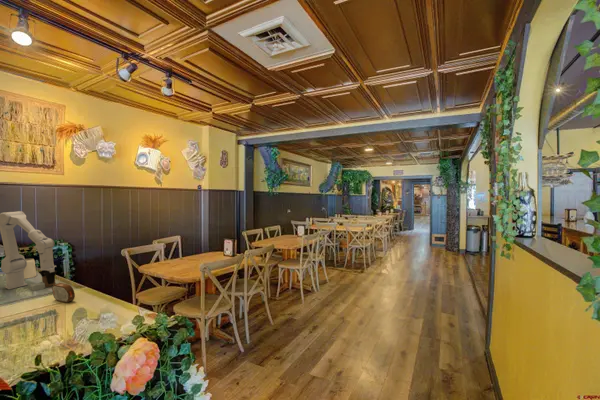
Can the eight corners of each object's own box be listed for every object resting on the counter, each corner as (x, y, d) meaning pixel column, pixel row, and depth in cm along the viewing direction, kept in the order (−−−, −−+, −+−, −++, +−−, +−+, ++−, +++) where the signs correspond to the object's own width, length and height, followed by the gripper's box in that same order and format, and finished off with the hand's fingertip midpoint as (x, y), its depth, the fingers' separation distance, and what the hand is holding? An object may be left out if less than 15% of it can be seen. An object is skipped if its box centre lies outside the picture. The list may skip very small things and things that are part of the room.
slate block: (30, 290, 156) (30, 284, 156) (42, 287, 160) (42, 282, 160) (33, 291, 154) (32, 286, 153) (45, 288, 158) (44, 283, 158)
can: (39, 275, 185) (37, 257, 184) (28, 279, 178) (26, 260, 178) (30, 276, 185) (28, 258, 185) (19, 279, 179) (17, 260, 178)
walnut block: (42, 286, 162) (41, 276, 161) (52, 283, 165) (51, 274, 165) (45, 287, 159) (44, 277, 159) (55, 284, 163) (54, 275, 163)
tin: (76, 301, 134) (74, 284, 134) (68, 304, 131) (66, 286, 131) (59, 297, 141) (57, 281, 140) (51, 300, 138) (50, 283, 137)
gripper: (60, 259, 161) (62, 282, 162) (50, 257, 169) (53, 279, 169) (44, 262, 155) (46, 286, 156) (35, 260, 163) (37, 282, 164)
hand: (48, 283), depth 162 cm, fingers open, 6 cm apart
